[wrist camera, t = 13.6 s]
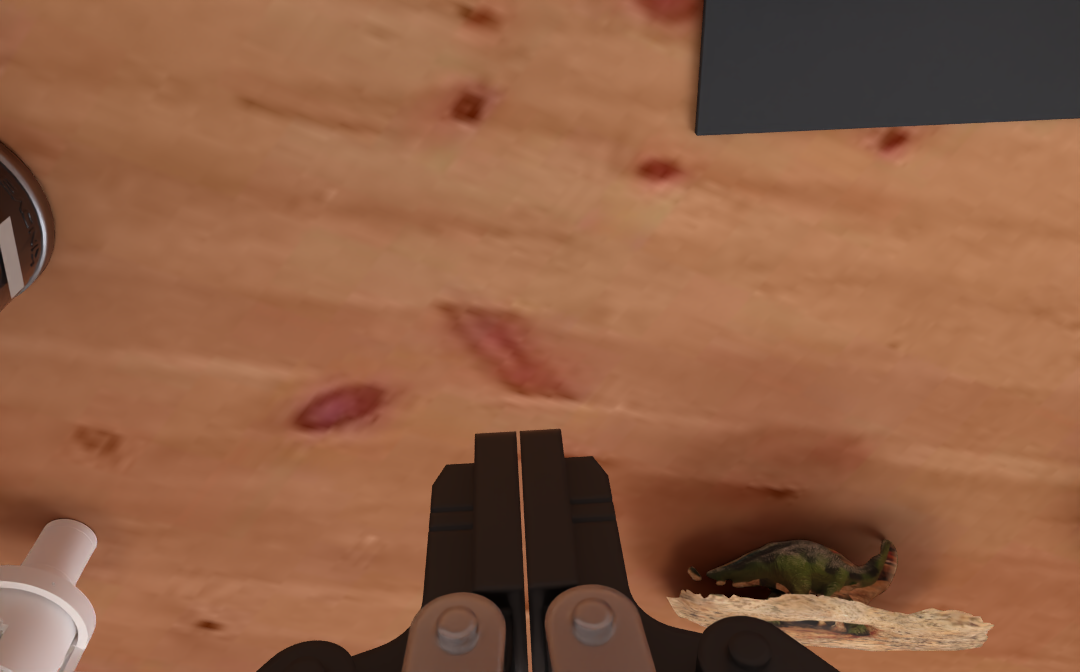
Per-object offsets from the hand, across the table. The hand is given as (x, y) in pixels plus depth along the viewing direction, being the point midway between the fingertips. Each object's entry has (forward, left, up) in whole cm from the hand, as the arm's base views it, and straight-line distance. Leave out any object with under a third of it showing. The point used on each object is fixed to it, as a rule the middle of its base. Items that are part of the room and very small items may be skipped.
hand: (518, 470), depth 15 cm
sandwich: (+18, -33, -27) cm, 46 cm away
